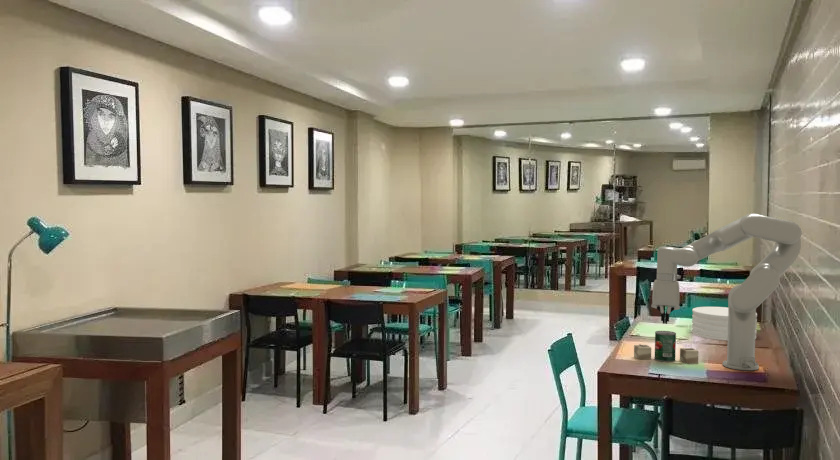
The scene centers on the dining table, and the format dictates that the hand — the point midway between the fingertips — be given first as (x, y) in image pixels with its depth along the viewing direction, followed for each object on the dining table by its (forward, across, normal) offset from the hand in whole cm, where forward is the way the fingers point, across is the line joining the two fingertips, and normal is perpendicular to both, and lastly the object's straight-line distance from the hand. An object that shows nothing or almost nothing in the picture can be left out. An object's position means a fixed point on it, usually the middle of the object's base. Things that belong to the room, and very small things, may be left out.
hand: (664, 323), depth 262 cm
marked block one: (+15, -9, 0) cm, 18 cm away
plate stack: (+15, -28, -64) cm, 71 cm away
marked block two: (+15, +8, +1) cm, 17 cm away
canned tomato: (+15, 0, 0) cm, 15 cm away
